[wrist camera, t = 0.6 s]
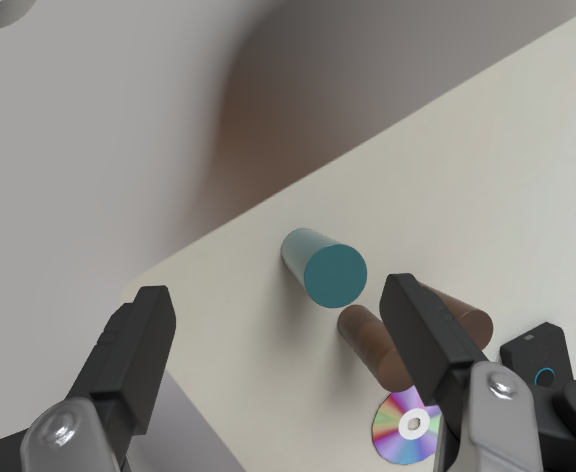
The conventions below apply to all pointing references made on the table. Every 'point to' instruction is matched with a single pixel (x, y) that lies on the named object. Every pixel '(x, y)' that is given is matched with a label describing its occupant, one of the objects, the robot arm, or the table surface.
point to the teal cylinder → (325, 267)
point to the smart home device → (539, 356)
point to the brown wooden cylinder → (374, 347)
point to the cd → (406, 428)
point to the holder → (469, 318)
